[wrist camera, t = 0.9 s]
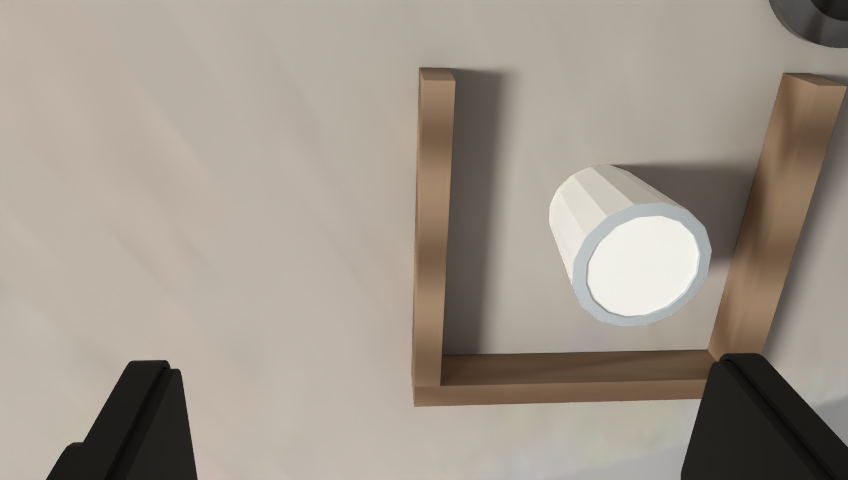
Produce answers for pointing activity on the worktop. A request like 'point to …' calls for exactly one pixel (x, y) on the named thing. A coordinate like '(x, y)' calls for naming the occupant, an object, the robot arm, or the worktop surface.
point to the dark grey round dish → (815, 20)
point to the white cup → (627, 246)
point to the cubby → (619, 371)
